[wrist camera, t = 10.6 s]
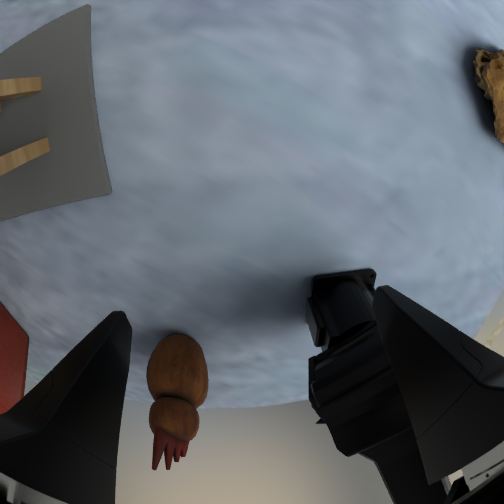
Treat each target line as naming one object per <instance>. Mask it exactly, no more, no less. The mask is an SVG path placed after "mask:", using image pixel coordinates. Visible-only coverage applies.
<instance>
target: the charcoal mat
mask: <svg viewBox="0 0 504 504" xmlns="http://www.w3.org/2000/svg"><path fill="white" fill-rule="evenodd" d="M28 77H41V88H42V90H41V91H39V92H37V93H35V94H33V95H30V96H23V97H17V98H12V99H7V100H2V101H1V109H2V112H1V113H0V157H1V156H3V155H5V154H7V153H9V152H12V151H14V150H16V149H19V148H21V147H23V146H26V145H28V144H31V143H33V142H36V141H39V140H41V139H44V138H47V137H48V142H49V147H50V151H49V152H47V153H45V154H43V155H40V156H38V157H36V158H34V159H32V160H30V161H28V162H26V163H24V164H22V165H20V166H18V167H16V168H14V169H13V170H11V171H9V172H7V173H5V174H3V175H2V176H0V221H3V220H6V219H10V218H13V217H16V216H20V215H23V214H27V213H31V212H35V211H38V210H42V209H46V208H50V207H54V206H58V205H62V204H67V203H71V202H75V201H80V200H85V199H89V198H94V197H99V196H104V195H109V194H110V193H112V189H111V184H110V180H109V176H108V171H107V166H106V162H105V157H104V152H103V146H102V141H101V135H100V129H99V123H98V116H97V109H96V101H95V92H94V83H93V71H92V57H91V6H90V5H88V4H87V5H85V6H82V7H80V8H78V9H76V10H73V11H71V12H69V13H67V14H65V15H63V16H61V17H59V18H57V19H55V20H53V21H51V22H50V23H48V24H46V25H44V26H42V27H41V28H39V29H37V30H36V31H34V32H32V33H31V34H29V35H27V36H26V37H24V38H23V39H21V40H20V41H18V42H17V43H15V44H14V45H12V46H11V47H9V48H8V49H7V50H5V51H4V52H2V53H1V54H0V80H5V79H15V78H28Z"/></svg>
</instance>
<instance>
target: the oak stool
mask: <svg viewBox="0 0 504 504" xmlns="http://www.w3.org/2000/svg"><path fill="white" fill-rule="evenodd" d="M41 90H42V88H41V77H28V78H15V79H5V80H0V113H1V112H2V109H1V101H2V100H7V99H12V98H17V97H23V96H30V95H33V94H35V93H37V92H39V91H41ZM49 151H50V147H49V142H48V137H47V138H44V139H41V140H39V141H36V142H33V143H31V144H28V145H26V146H23V147H21V148H19V149H16V150H14V151H12V152H9V153H7V154H5V155H3V156H1V157H0V176H2V175H3V174H5V173H7V172H9V171H11V170H13V169H14V168H16V167H18V166H20V165H22V164H24V163H26V162H28V161H30V160H32V159H34V158H36V157H38V156H40V155H43V154H45V153H47V152H49Z"/></svg>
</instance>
